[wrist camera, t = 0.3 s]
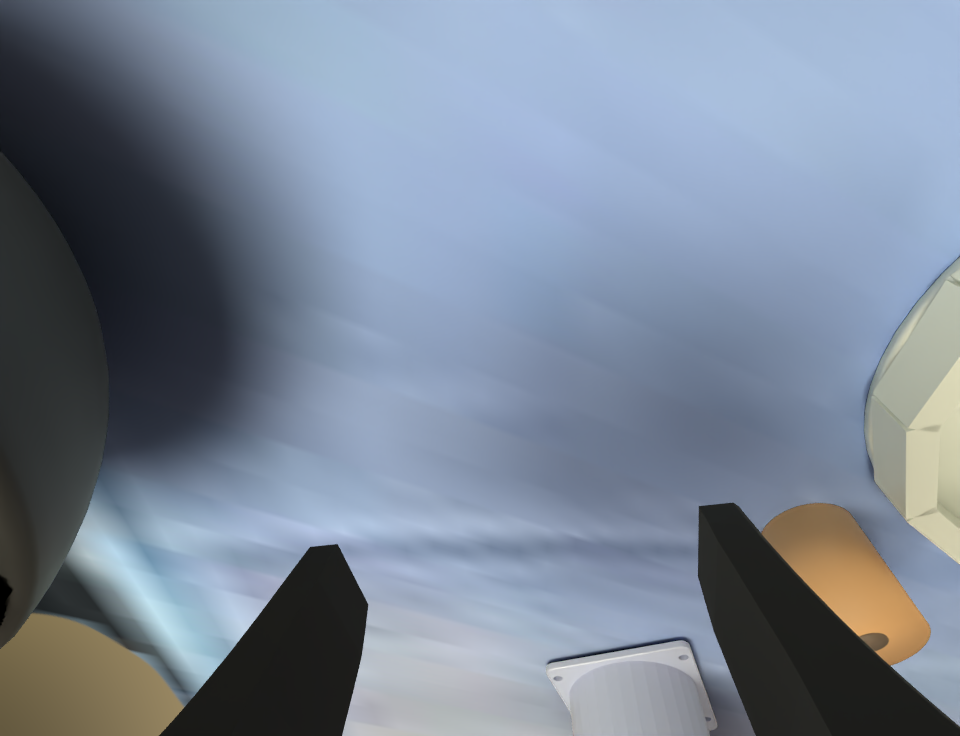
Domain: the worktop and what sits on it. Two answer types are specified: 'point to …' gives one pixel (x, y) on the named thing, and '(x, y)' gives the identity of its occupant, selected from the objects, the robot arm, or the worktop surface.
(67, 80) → the worktop surface
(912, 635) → the bead
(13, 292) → the bowl of black rocks
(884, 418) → the tray
